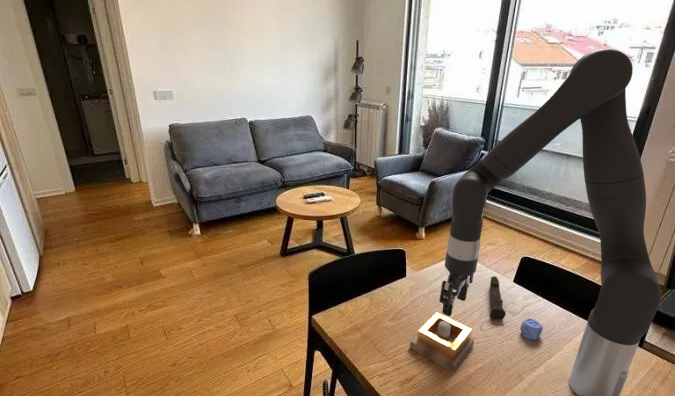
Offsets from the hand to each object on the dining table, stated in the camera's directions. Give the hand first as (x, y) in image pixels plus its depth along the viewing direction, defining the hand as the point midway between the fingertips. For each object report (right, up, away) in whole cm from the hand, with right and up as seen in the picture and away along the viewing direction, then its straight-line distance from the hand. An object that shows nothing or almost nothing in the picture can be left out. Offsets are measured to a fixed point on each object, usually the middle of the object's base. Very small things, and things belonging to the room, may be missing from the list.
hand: (454, 306), depth 96 cm
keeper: (-3, -11, +1) cm, 11 cm away
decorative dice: (+23, -10, +6) cm, 25 cm away
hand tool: (+18, -4, +20) cm, 27 cm away
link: (-3, -9, +1) cm, 9 cm away
